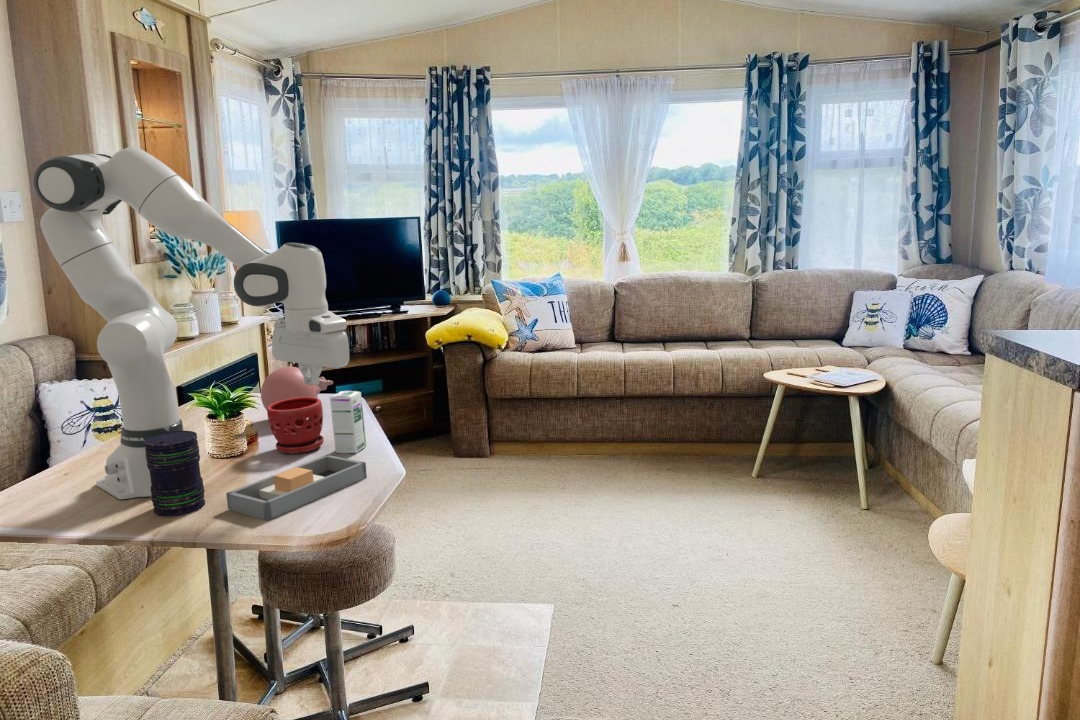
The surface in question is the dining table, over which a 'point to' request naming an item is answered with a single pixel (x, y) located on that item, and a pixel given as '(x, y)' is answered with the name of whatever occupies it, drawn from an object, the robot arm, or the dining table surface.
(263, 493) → the tray box
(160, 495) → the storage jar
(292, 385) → the balloon
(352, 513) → the dining table surface
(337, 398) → the syrup box
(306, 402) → the plant pot
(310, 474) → the wooden block
